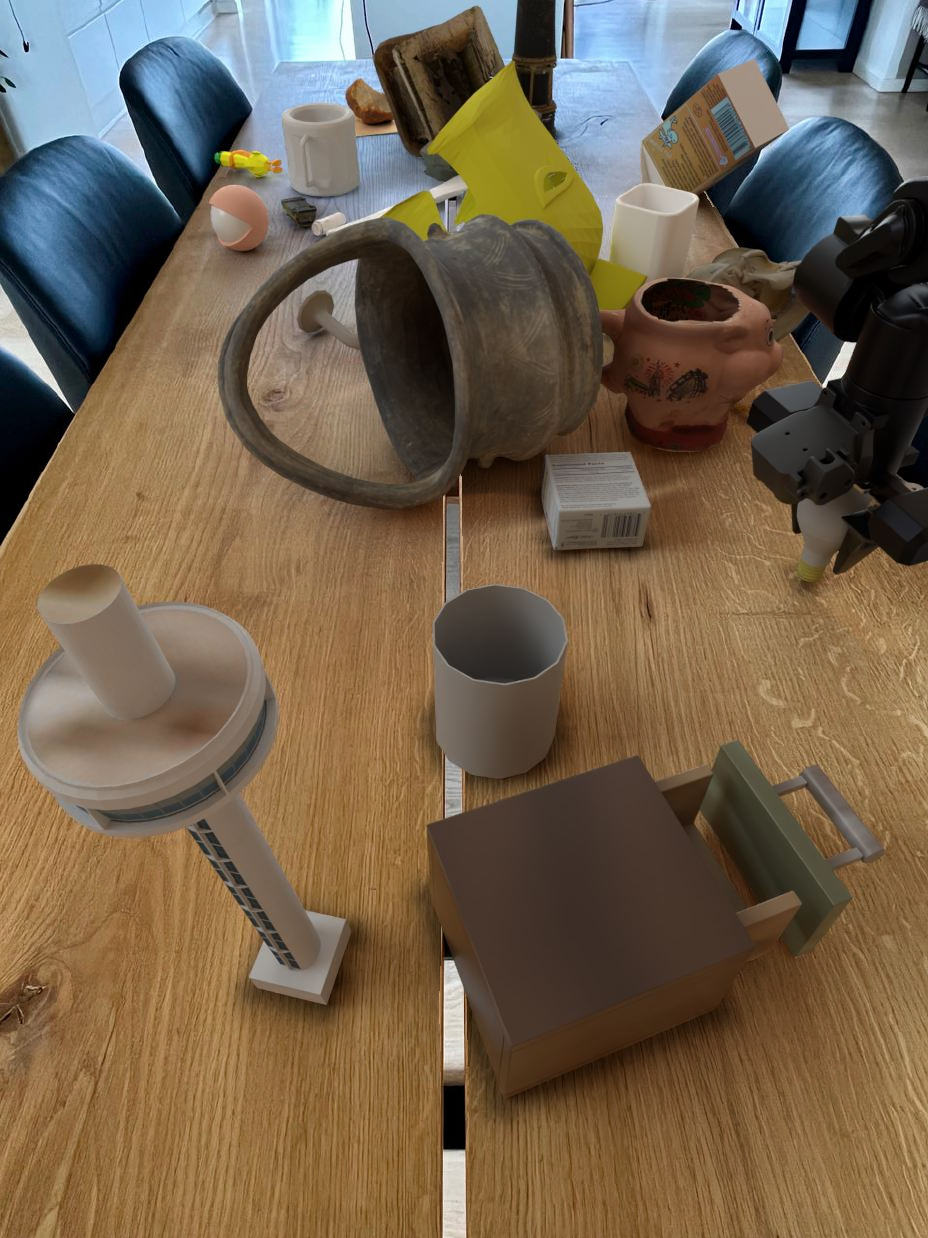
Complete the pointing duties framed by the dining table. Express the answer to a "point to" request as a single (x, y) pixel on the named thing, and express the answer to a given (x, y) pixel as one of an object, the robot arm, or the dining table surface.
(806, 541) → the light bulb
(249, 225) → the toy ball
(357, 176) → the mug
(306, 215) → the dark green crate
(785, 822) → the drawer
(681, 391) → the decorative planter
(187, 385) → the dining table surface
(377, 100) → the bread chunk
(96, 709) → the model tower
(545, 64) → the black tall cylinder
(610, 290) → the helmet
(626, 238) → the cup
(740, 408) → the keychain
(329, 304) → the toilet paper hanger
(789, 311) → the skull
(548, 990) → the cabinet
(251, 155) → the toy figure
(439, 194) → the spatula
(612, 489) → the box
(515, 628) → the cup
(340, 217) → the small white plastic part
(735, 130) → the milk carton
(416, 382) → the ancient clay pot
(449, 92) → the brown square vessel
